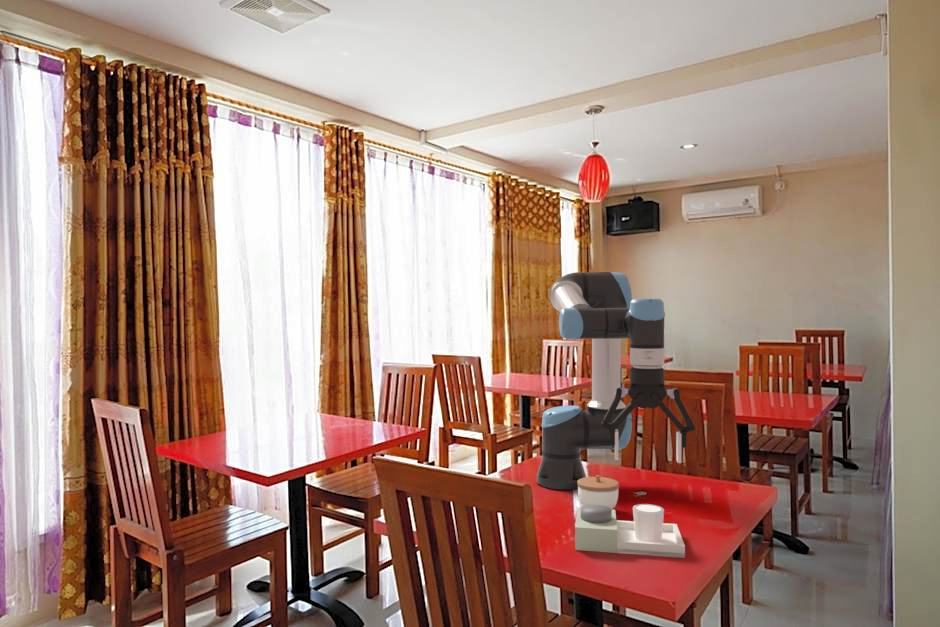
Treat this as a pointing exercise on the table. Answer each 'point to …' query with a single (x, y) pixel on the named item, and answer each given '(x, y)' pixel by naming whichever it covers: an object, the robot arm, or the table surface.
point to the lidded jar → (598, 491)
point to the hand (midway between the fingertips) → (647, 460)
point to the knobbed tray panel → (621, 535)
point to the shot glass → (648, 522)
